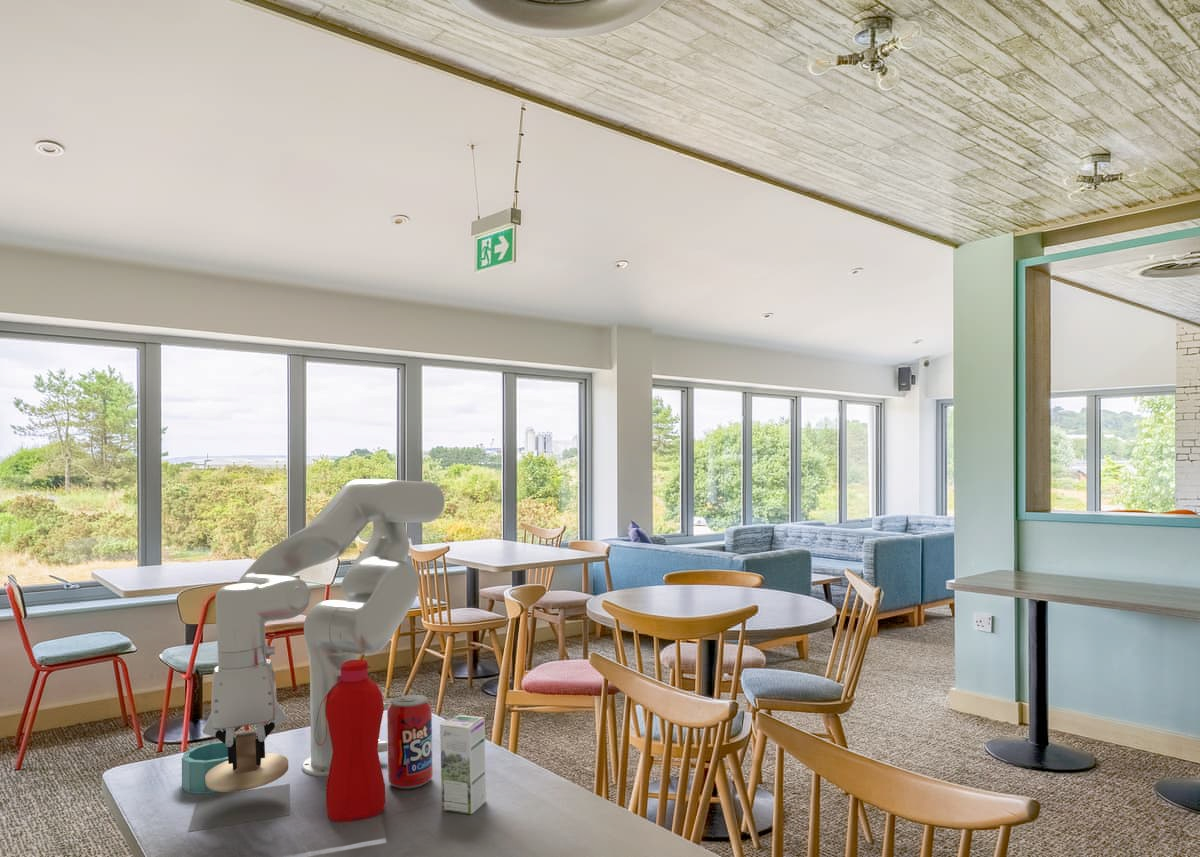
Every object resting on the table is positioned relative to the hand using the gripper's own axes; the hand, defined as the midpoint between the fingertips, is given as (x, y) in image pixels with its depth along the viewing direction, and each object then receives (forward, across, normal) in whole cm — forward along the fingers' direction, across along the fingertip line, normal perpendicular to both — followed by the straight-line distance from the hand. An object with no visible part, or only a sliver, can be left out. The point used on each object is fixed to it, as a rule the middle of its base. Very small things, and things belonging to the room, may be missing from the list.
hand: (247, 763), depth 139 cm
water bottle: (+8, -16, +10) cm, 20 cm away
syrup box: (+8, -34, +15) cm, 38 cm away
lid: (+2, 0, 0) cm, 2 cm away
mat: (+7, +1, +1) cm, 7 cm away
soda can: (+8, -27, +1) cm, 28 cm away
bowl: (+8, +6, -13) cm, 16 cm away
